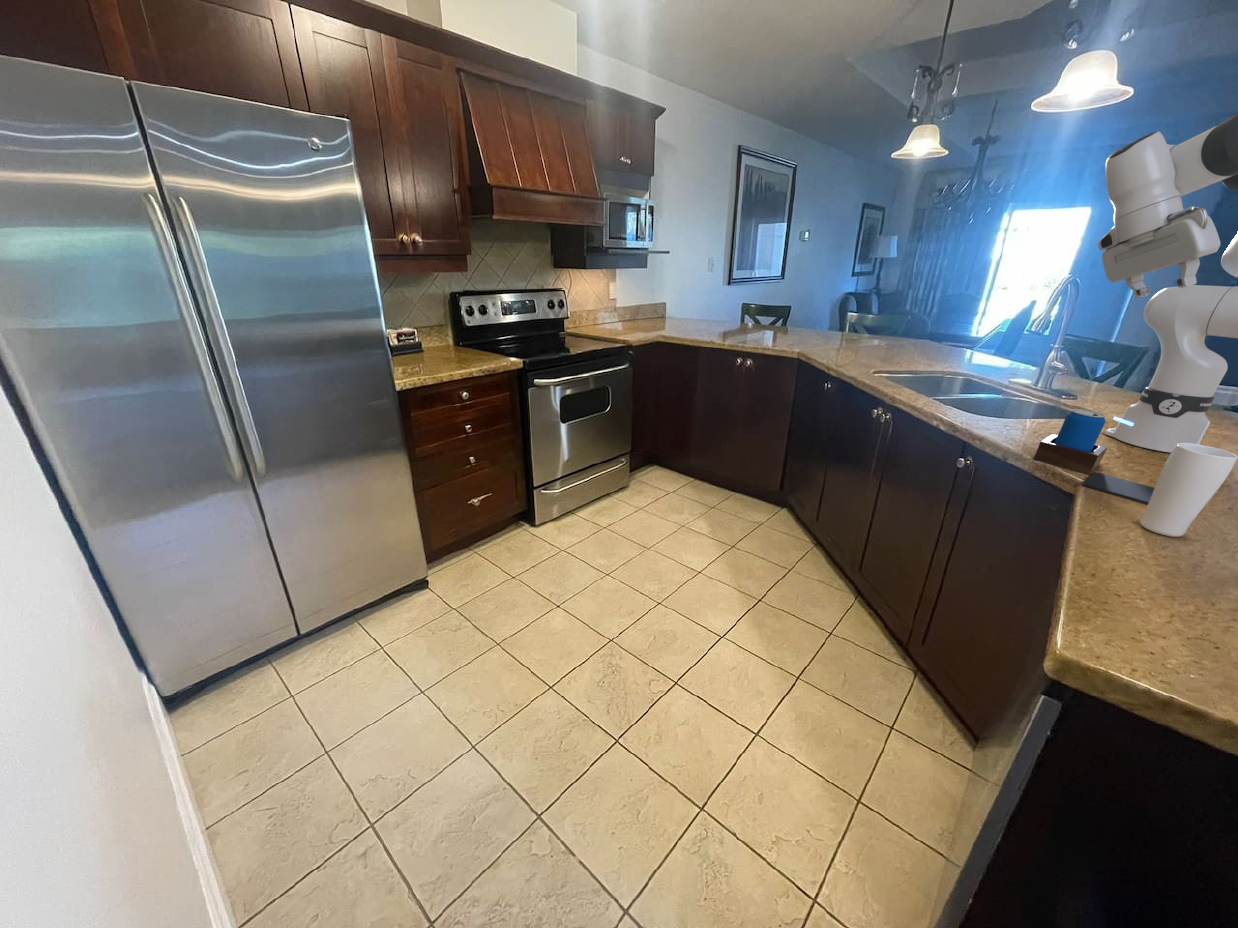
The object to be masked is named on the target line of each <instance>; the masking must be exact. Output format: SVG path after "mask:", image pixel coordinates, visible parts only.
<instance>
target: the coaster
mask: <svg viewBox="0 0 1238 928" xmlns="http://www.w3.org/2000/svg"><path fill="white" fill-rule="evenodd" d="M1081 486H1082V487H1085V488H1087V489H1088V488H1089V489H1093V490H1096V491H1100V492H1103V493H1107V494H1110V495H1114V496H1116V497H1120V498H1124V499H1127V500H1131V501H1134V502H1138V503H1141V504H1145V505H1148V503H1149V501H1150V498H1151V496H1152V493H1153V491H1154V488H1155V486H1154V487H1153V486H1151V485H1146V484H1143V483H1139V482H1135V481H1131V480H1127V479H1123V478H1119V477H1116V476H1112V475H1109V474H1104V473H1101V472H1098V471H1097V472H1096V471H1093V472H1092V474H1090V476H1089V477H1088V478H1087V480H1085V481H1084V482H1083V483H1082V485H1081Z"/></svg>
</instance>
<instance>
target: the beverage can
mask: <svg viewBox="0 0 1238 928" xmlns="http://www.w3.org/2000/svg"><path fill="white" fill-rule="evenodd" d="M1105 417H1106V414H1104V413H1102V412H1098V411H1094V410H1089V409H1082V408H1073V409H1071V410H1070V412H1068V413H1067V414H1066V415H1065V418H1064V421H1063V423H1062V425H1061V427H1060V430H1059V432H1058V434H1057V435H1058V436H1057V439H1056V441H1055V443H1054V444H1059V445H1063V446H1067V447H1071V448H1075V449H1079V450H1083V451H1087V452H1091V451H1092V449H1093V447H1094V445H1095V444H1097V441H1098V438H1099V437H1100V435H1101V432H1102V430H1103V428H1104V426H1105V424H1106V418H1105Z"/></svg>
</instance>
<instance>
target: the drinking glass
mask: <svg viewBox="0 0 1238 928" xmlns="http://www.w3.org/2000/svg"><path fill="white" fill-rule="evenodd" d="M1200 444H1201V443H1200ZM1200 444H1193V443H1178V444H1176V446H1175V448H1174V449H1173V451H1172V452H1171V453H1170V454H1169V455H1168V457H1167V458H1166V461H1165V463H1164V465H1163V466H1162V469H1161V472H1160V474H1159V476H1158V478H1157V481H1156V484H1155V486H1154V491H1153V493H1152V496H1151V498H1150V501H1149V503H1148V504H1146V505H1147V506H1146V508H1145V510H1144V512H1143V514H1142V516H1141V518H1140V520H1139V524H1140V525H1141V527H1143V528H1144V529H1146V530H1148V531H1150V532H1152V533H1155V534H1158V535H1162V536H1166V537H1173V538H1179V537H1182V536H1184V535H1185V534H1186V532H1187V531H1188V529H1189V527H1190V526H1191V525H1192V523H1193V522H1194V521H1195V519H1196V518H1197V517H1198V516H1199V514H1200V513H1201V511H1202V510H1203V509H1204V508H1205V507H1206V505H1207V504H1208V503H1209V501H1210V500H1211V499H1212V497H1214V495H1215V494H1216V493H1217V491H1218V490H1219V489H1220V488H1221V486H1222V485H1223V484H1224V482H1225V481H1226V479H1227V478H1228V477H1229V475H1230V474H1231V471H1232V470H1233V468H1234V466H1235V464H1236V462H1237V460H1238V455H1237V454H1236V453H1233V452H1231V451H1228V450H1225V449H1223V448H1219V447H1214V446H1209V445H1205V444H1201V445H1200Z"/></svg>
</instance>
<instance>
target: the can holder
mask: <svg viewBox="0 0 1238 928" xmlns="http://www.w3.org/2000/svg"><path fill="white" fill-rule="evenodd" d="M1057 436H1058V434H1054V433H1052V434H1049V435H1048V436H1047V437H1045V438H1044V439H1042V440H1041V441H1040V442H1039V445H1038V446H1037V448H1036V451H1035V454H1034V455H1033V459H1032V460H1035V461H1038V462H1041V463H1045V464H1049V465H1051V466H1052V465H1053V466H1057V467H1059V468H1064V469H1067V470H1071V471H1075V472H1077V473H1078V472H1079V473H1082V474H1086V475H1091V473H1093V472H1094V471H1095V469H1096V468H1097V467H1099V466H1100V464H1101V462H1102V460H1103V457H1104V456H1105V453H1106V451H1107V450H1108V446H1106V445H1102V444H1098V443H1095V445H1094V447H1093V449H1092V451H1091V452H1087V451H1083V450H1079V449H1075V448H1071V447H1067V446H1063V445H1059V444H1054V443H1055V441H1056V439H1057Z"/></svg>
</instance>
